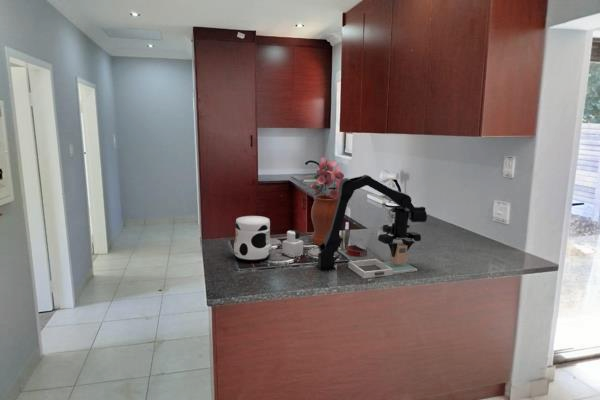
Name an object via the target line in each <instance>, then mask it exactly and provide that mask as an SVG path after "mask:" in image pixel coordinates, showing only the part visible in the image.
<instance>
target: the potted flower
mask: <svg viewBox="0 0 600 400" xmlns="http://www.w3.org/2000/svg"><path fill="white" fill-rule="evenodd" d="M337 165H338V163H337V160H333V161H332V160H331V161H328V160H327V159H326V157H325V156H322V157H321V158H320V162H319V167H318V168H317V170H316V175H314V177H313V179H314V180H316V181H313V184H311V185H310V187H309V189H313V191H314V193H315V195H313V196H312V197H313V200H314V201H313V204H312V207H311V212H310V215H311V217H310V218H311V222H312V225H313V230H314V231H313V233H312V234H311V236H310V242H311V241H312V242H313V243H315V244H318V245H321V244H322V243H323V242H324V239H325V237H326V235H327V233H328V232H329V230H330V228H331V225H332V221H333V217H334V214H335V210H336V207H337V203H338V199H339V183H340V181H341V180H342V179H344V177H345V175H344V173H342V172H341V170H342V167H341V166H337ZM335 166H337V167H336V168H335V169H334V167H335ZM335 182H336V183H335ZM333 183H334V185H333V187H329V186H332V184H333ZM317 184H319V185H320V186H318V185H317ZM323 185H324V190H326V187H327V189H328V190H330V191H329V194H323V191H322V190H321V189H320V188H321V186H323ZM319 192H321V194H319ZM315 244H314V245H315ZM318 245H317V246H318Z"/></svg>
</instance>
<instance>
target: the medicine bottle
mask: <svg viewBox="0 0 600 400" xmlns="http://www.w3.org/2000/svg"><path fill="white" fill-rule="evenodd" d="M300 235H301V234H300V231H299V230H297V229H290V230H287V231H286V239H285V240H283V241H282V253H286V254H290V255H293V256H299V257H302V256H304V240H300V239H301V238H300ZM301 255H302V256H301Z"/></svg>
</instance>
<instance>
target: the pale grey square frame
mask: <svg viewBox="0 0 600 400" xmlns="http://www.w3.org/2000/svg"><path fill="white" fill-rule="evenodd" d="M382 262H383V261H380V260H379V259H377V258H373V259H372V258H371V259H362V260H359V259H358V260H352V261H348V262H347V268H349V269H350V270H352V271H353V272H354V273H355V274H357V275H358V276H360V277H361V278H363V279H369V278H370V279H371V278H377V277H378V278H380V277H387V276H393V275H394V274H393V269H392V268H391V267H389V266H387V265H385V264H384V263H382ZM368 266H376V267H377V268H379V269H377V270H376V269H375V270H369V271H367V270H366V271H365V270H363V268H361V267H368Z"/></svg>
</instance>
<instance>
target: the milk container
mask: <svg viewBox="0 0 600 400" xmlns="http://www.w3.org/2000/svg"><path fill="white" fill-rule="evenodd" d="M270 220H271V219H270V218H268V217H265V216H259V215H245V216H240V217H237V218H236V220H235V240H234V244H233V253H234V256H235V257H236V258H237V259H240V260H243V261H246V262H248V261H249V262H254V261H257V262H258V261H264V260H265V259H267V257H268V258H269V257H270V256H271V254H272V241H271V235H270V234H271V228H270V227H271V221H270Z"/></svg>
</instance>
